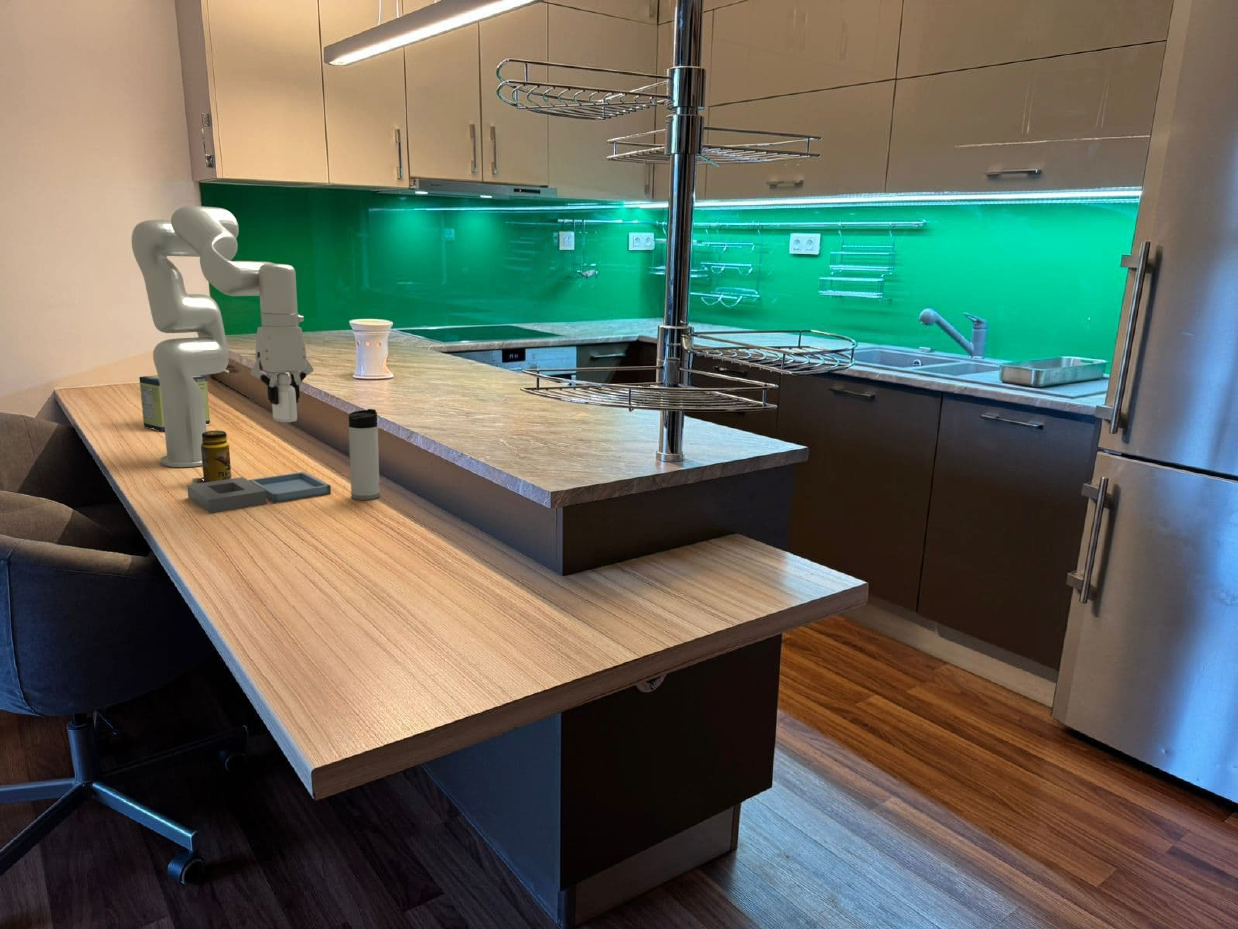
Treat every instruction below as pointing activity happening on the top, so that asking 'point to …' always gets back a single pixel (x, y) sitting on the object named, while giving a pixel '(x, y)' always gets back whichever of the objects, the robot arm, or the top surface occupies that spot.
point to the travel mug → (364, 454)
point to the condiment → (215, 457)
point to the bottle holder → (226, 494)
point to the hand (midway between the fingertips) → (284, 401)
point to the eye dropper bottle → (285, 400)
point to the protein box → (154, 400)
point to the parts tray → (292, 487)
